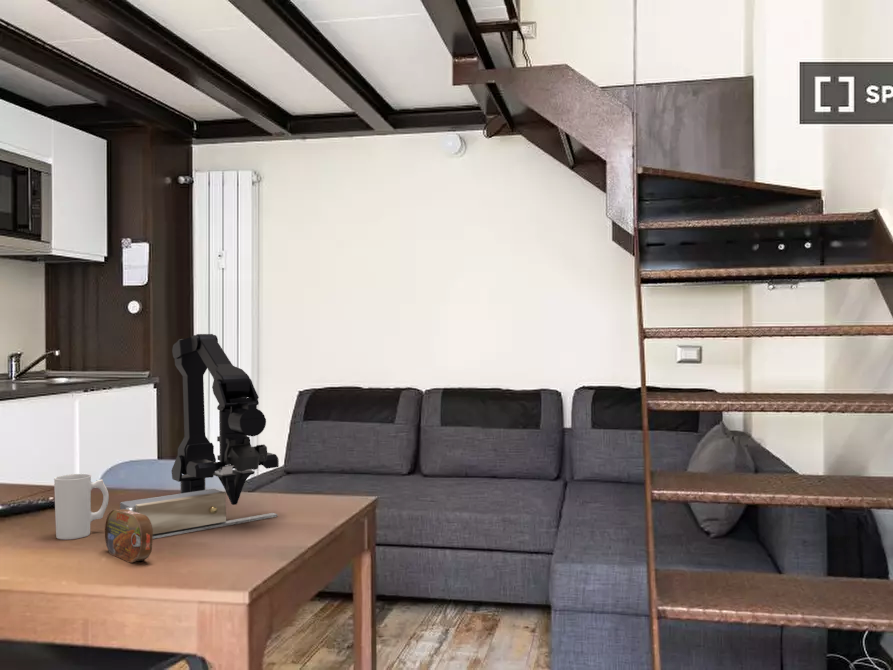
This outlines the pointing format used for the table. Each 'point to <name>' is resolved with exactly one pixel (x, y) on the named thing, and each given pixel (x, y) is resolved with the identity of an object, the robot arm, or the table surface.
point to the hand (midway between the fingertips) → (234, 504)
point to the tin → (128, 535)
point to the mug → (76, 505)
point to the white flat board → (210, 524)
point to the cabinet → (165, 498)
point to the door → (185, 512)
